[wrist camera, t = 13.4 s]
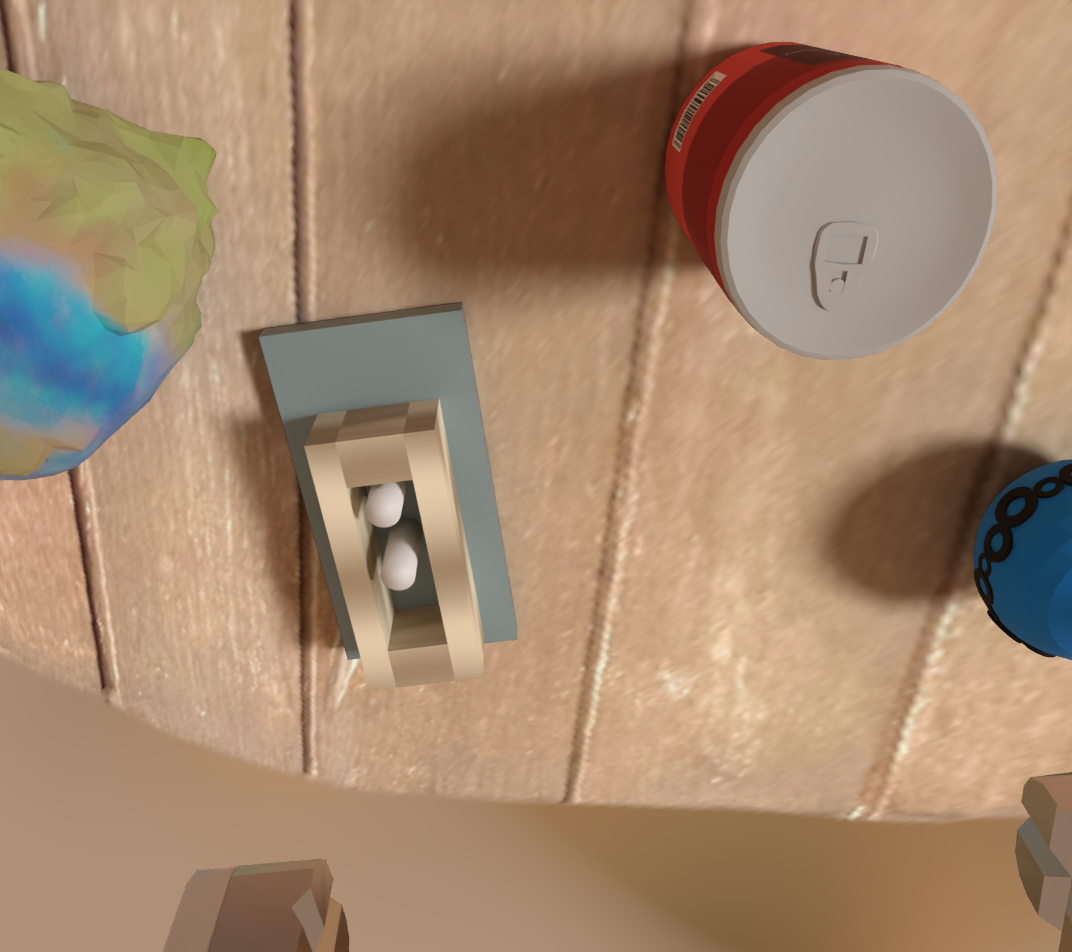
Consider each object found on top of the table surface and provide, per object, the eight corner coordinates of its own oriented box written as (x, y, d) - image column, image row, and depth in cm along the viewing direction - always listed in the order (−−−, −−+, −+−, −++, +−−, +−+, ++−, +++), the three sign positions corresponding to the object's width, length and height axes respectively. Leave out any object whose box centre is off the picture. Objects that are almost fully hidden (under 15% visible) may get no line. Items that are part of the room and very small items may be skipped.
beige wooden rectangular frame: (317, 414, 39) (304, 446, 36) (439, 398, 39) (434, 429, 36) (377, 647, 45) (369, 690, 42) (483, 635, 44) (482, 677, 42)
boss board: (264, 328, 38) (236, 369, 34) (462, 302, 38) (457, 340, 34) (351, 646, 46) (336, 710, 42) (517, 626, 45) (518, 689, 42)
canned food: (673, 278, 38) (731, 384, 28) (647, 62, 34) (703, 98, 24) (868, 242, 37) (995, 337, 28) (863, 19, 34) (1008, 38, 24)
